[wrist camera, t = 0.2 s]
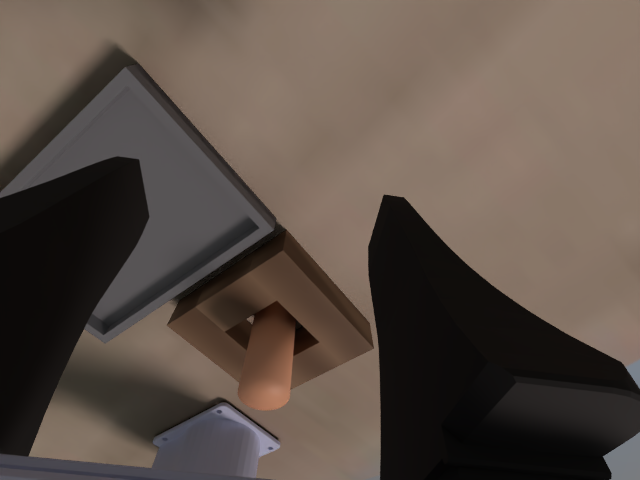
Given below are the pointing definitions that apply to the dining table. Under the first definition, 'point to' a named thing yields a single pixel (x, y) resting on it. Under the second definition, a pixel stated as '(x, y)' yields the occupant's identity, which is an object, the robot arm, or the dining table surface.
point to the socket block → (259, 292)
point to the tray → (155, 195)
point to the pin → (268, 359)
